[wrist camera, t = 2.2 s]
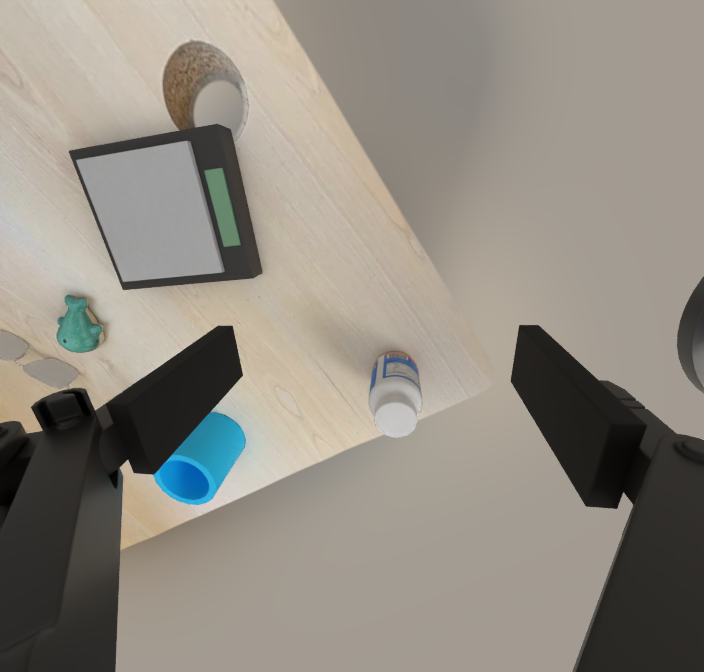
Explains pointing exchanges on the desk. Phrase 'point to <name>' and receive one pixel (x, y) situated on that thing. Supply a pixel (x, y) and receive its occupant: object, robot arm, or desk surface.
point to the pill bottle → (395, 394)
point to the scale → (171, 207)
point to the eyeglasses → (36, 363)
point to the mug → (202, 460)
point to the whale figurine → (79, 327)
